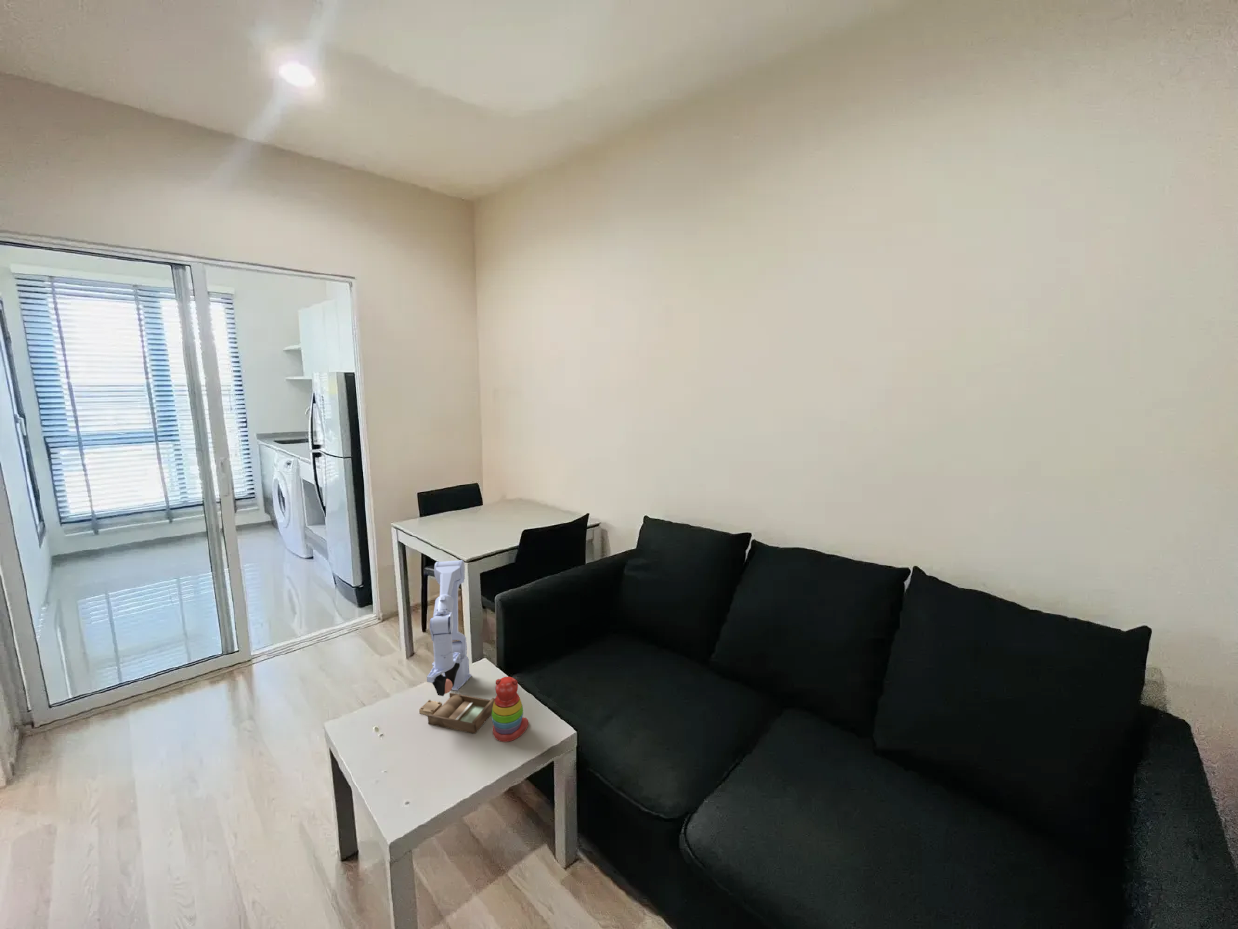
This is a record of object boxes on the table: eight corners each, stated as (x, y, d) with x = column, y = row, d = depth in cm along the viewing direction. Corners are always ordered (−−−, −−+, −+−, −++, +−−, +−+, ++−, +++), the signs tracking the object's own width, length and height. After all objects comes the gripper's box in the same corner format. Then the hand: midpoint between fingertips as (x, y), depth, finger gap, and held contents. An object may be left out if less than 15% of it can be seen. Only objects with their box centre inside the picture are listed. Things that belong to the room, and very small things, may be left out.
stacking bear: (530, 721, 157) (528, 669, 154) (520, 744, 147) (518, 689, 144) (497, 718, 158) (494, 667, 155) (485, 741, 148) (483, 687, 145)
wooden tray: (451, 708, 167) (450, 689, 166) (495, 717, 163) (494, 698, 162) (429, 732, 156) (427, 712, 155) (475, 742, 151) (474, 722, 150)
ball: (444, 687, 162) (443, 675, 161) (455, 689, 160) (454, 677, 160) (435, 695, 158) (434, 682, 157) (447, 697, 156) (446, 685, 156)
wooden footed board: (429, 703, 165) (428, 699, 165) (442, 706, 164) (441, 701, 163) (419, 713, 160) (419, 708, 160) (432, 716, 159) (432, 711, 159)
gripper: (446, 638, 165) (449, 675, 167) (417, 661, 151) (420, 701, 153) (464, 641, 163) (467, 679, 165) (436, 665, 149) (439, 706, 151)
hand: (445, 690), depth 159 cm, fingers closed on ball, 4 cm apart
